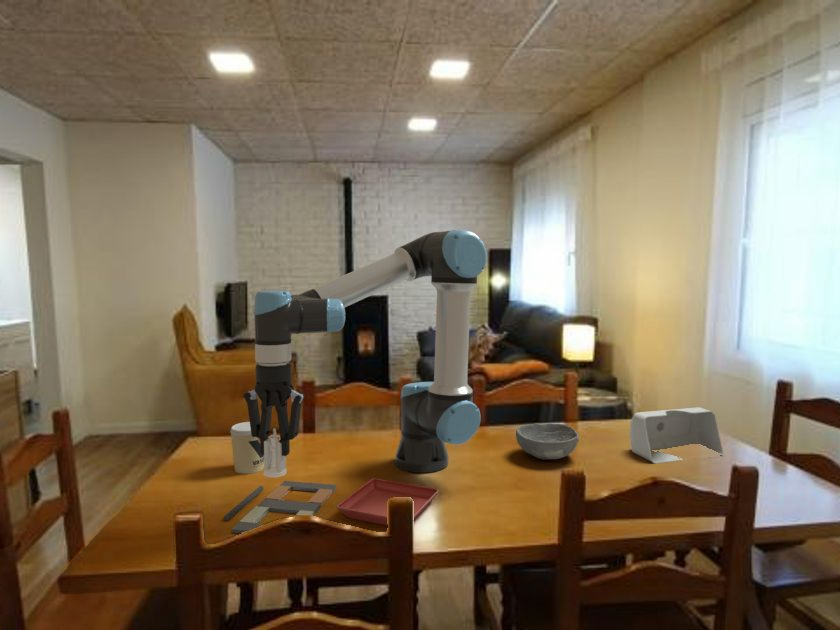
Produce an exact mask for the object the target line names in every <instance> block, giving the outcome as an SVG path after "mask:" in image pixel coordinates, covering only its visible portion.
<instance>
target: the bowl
mask: <svg viewBox="0 0 840 630" xmlns="http://www.w3.org/2000/svg"><path fill="white" fill-rule="evenodd" d="M515 438H516V442H517V444H518V446H520V448H521V449H522V450H523V451H524V452H526V453H527V454H529V455H530V456H533V457H535V458H536V459H540V460H542V461H545V460H546V461H549V460H560V459H562V458H563V459H564V458H566V457H567V456H569V455H570V454H572V453H573V452H574V451H575V449H576V447H577V444H578V443H579V440H580V437H579V433H578V431H577V430H575V429H574V428H572V426H569V425H567V424H564V423H551V422H550V423H537V422H536V423H530V424H526V425H525V424H524V425H521V426H519V427H518V428H516V429H515Z"/></svg>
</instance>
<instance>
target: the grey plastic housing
mask: <svg viewBox="0 0 840 630" xmlns="http://www.w3.org/2000/svg"><path fill="white" fill-rule="evenodd" d="M629 424H630V425H629V426H630V427H629V440H630V441H629V442H630V447H631V451H632V453H633V454H636V455H637V456H639V457H641V458H643V459H645V460H647V461H649V462H650V463H653V464H655V465H656V464H662V463H663V464H664V463H674V462H680V461H679V460H683V459H682V458H680V457H679V458H680V459H679V458H678V457H677V456H674V455H670V454H666V453H665V452H663V453H660V452H659V451H657V452H654V451H652V450H660V449H667V448H672V447H678V446H684V445H689V444H701V445H703V446H706V447H707V448H709V449H712V450H714V451H716V452H718V453H720V454H724V449H723V444H722V440H721V435H720V431H719V427H718V421H717V417H716V414H715V412H714V411H711V410H708V409H705V408H703V407H701V406H700V407H699V406H697V407H696V406H695V407H686V408H676V409H675V408H674V409H673V408H672V409H661V410H650V411H648V410H647V411H640V412H635V413H634V414H633V415H632V418H631V420H630V423H629ZM683 461H684V460H683Z"/></svg>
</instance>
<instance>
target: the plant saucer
mask: <svg viewBox="0 0 840 630" xmlns="http://www.w3.org/2000/svg"><path fill="white" fill-rule="evenodd" d="M438 493H439V489H438V488H434V487H429V486H423V485H417V484H410V483H404V482H398V481H393V480H386V479H381V478H371V479H370V480H368V481H367V482H366V483H364V484H363V485H362V486H360V487H359V488H358V489H357V490H356V491H354V492H352V493H351V494H350V495H349V496H348V497H346V498H345V499H344V500H342V501H341V502H340V503H338V504H337V506H336V508H337V509H338V510H339V511H340V512H341V513H342V514H343V515H345V516H346V517H348V518H350V519H355V520H360V521H365V522H368V523H374V524H378V525H385V526H388V525H387V501H388V499H390V498H393V497H411V498H412V499H413V501H414V520H416V518H418V516H419V515H420V514H421V513H422V512H423V511H424V510H425V509H426V508H427V506H428V505H429V504H431V503H432V502H433V500H434V499H435V497H436V496H437V495H438Z"/></svg>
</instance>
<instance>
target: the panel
mask: <svg viewBox="0 0 840 630" xmlns="http://www.w3.org/2000/svg"><path fill="white" fill-rule="evenodd" d="M335 490H337V484H332V483H331V484H330V483H329V484H328V483H318V482H315V483H314V482H307V481H306V482H305V481H292V480H291V481H290V480H283V482H282V483H280V484H279V485H278V486H276V488H274V490H272V491H271V492H270V493H269V494H268V495H267V496H265V498H264V499H263V500H262V501H261V502H259V503H258V504H257V505H256V506H255V507H253V508H252V509H251V510H250V511H249V512H248V513H247V514H246V515H245V516H244V517H243V518H242V519H240V520H239V521H238V522H237V524H236V525H234V526H233V527H232V528H231V534H240V533H242V532H245V531H249V530H252V529H254V528H257V527H259V526H261V525H264V524H265V523H264V524H263V523H259V522H260V521H261V520H262V519H263V518H264V517H265V516H267V514H268V513H270V512H274V513H287V514H295V516H296V515H314V516H315V515H316V514H317V512H319V510H320V509H321V507H323V505H324V504H325V503H326V501H328V499H329V498H330V497H331V496H332V494H333V493H334V492H335ZM291 491H301V492H312V493H314V494H313V495H312V497H311V498H310V499H309V500H308V501H300V500H299V501H298V500H287V499H284V498H285V497H286V495H288V494H289V493H290V492H291ZM295 516H294V517H295Z"/></svg>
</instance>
